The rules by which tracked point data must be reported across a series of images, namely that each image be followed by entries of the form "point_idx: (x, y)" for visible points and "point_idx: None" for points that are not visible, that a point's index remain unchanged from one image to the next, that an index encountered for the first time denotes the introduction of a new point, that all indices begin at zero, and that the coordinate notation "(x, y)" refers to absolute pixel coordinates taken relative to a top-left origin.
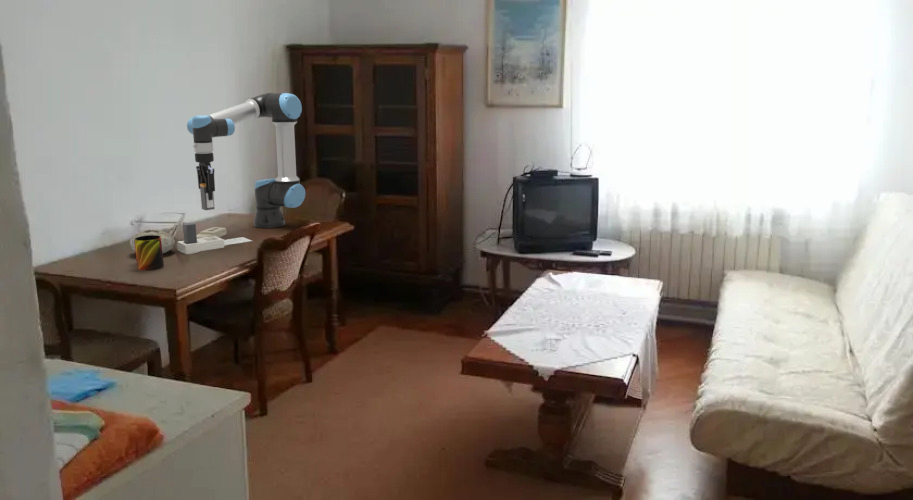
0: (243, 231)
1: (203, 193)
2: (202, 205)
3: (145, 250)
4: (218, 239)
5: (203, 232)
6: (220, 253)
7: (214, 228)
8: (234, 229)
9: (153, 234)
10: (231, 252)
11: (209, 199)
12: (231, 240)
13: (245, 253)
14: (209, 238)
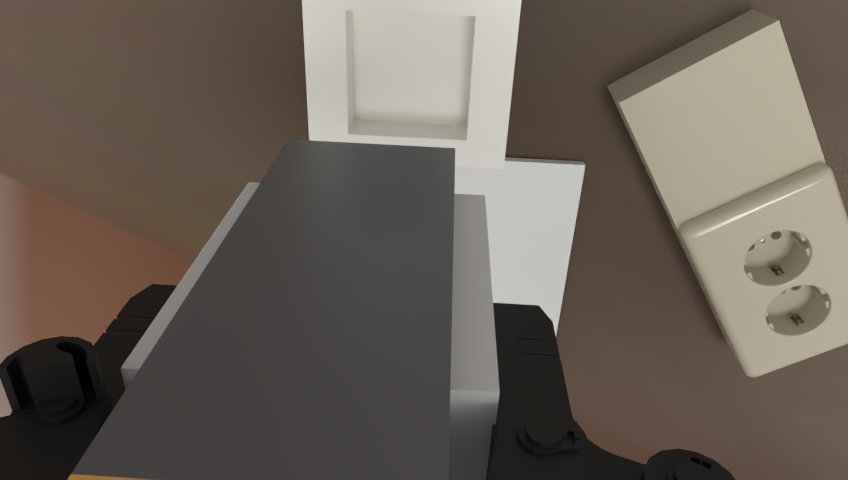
0: (731, 458)
1: (238, 320)
2: (407, 173)
3: None
4: (340, 123)
5: (787, 185)
6: (169, 18)
7: (825, 315)
8: (844, 452)
9: None
10: (154, 103)
11: (145, 293)
12: (509, 277)
13: (65, 165)
14: (470, 93)
